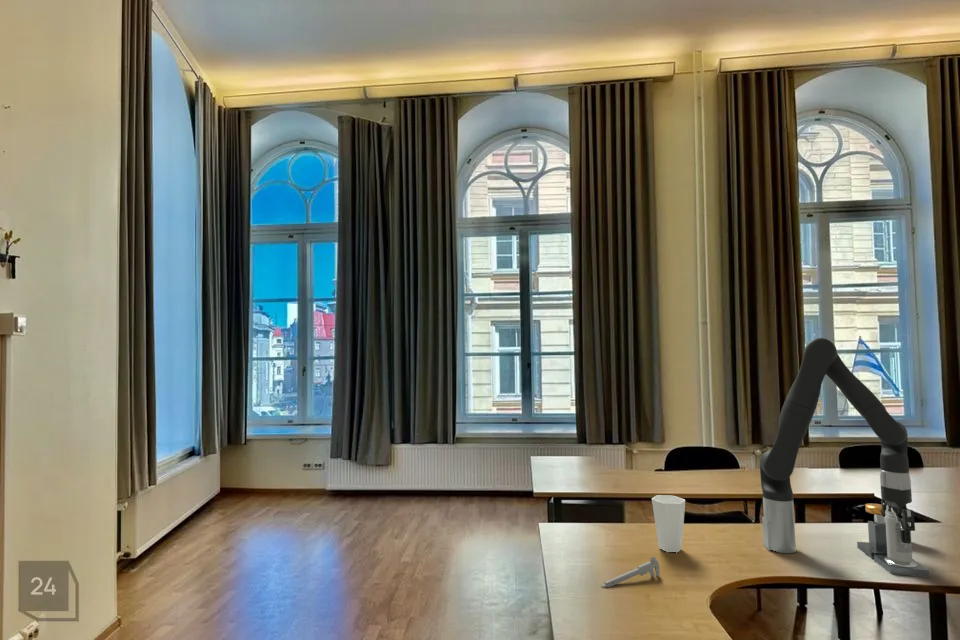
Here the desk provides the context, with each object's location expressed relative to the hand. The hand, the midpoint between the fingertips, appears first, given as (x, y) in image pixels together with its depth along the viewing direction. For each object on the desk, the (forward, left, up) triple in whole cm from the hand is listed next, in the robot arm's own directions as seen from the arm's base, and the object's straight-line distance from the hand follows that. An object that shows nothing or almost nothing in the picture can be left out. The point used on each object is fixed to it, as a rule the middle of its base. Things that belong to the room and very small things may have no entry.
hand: (898, 538), depth 159 cm
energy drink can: (0, 0, -7) cm, 7 cm away
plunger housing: (0, +12, -9) cm, 15 cm away
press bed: (0, 0, -9) cm, 9 cm away
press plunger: (0, +12, -3) cm, 12 cm away
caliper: (-82, -28, -10) cm, 87 cm away
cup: (-68, +1, -10) cm, 69 cm away
